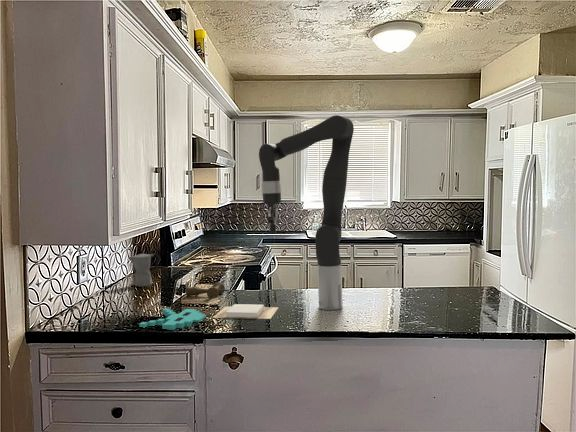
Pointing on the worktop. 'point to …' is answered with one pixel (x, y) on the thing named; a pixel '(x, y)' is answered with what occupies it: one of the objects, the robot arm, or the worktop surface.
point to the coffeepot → (143, 268)
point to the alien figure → (176, 319)
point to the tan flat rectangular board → (265, 314)
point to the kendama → (207, 290)
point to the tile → (245, 310)
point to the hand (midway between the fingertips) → (273, 233)
